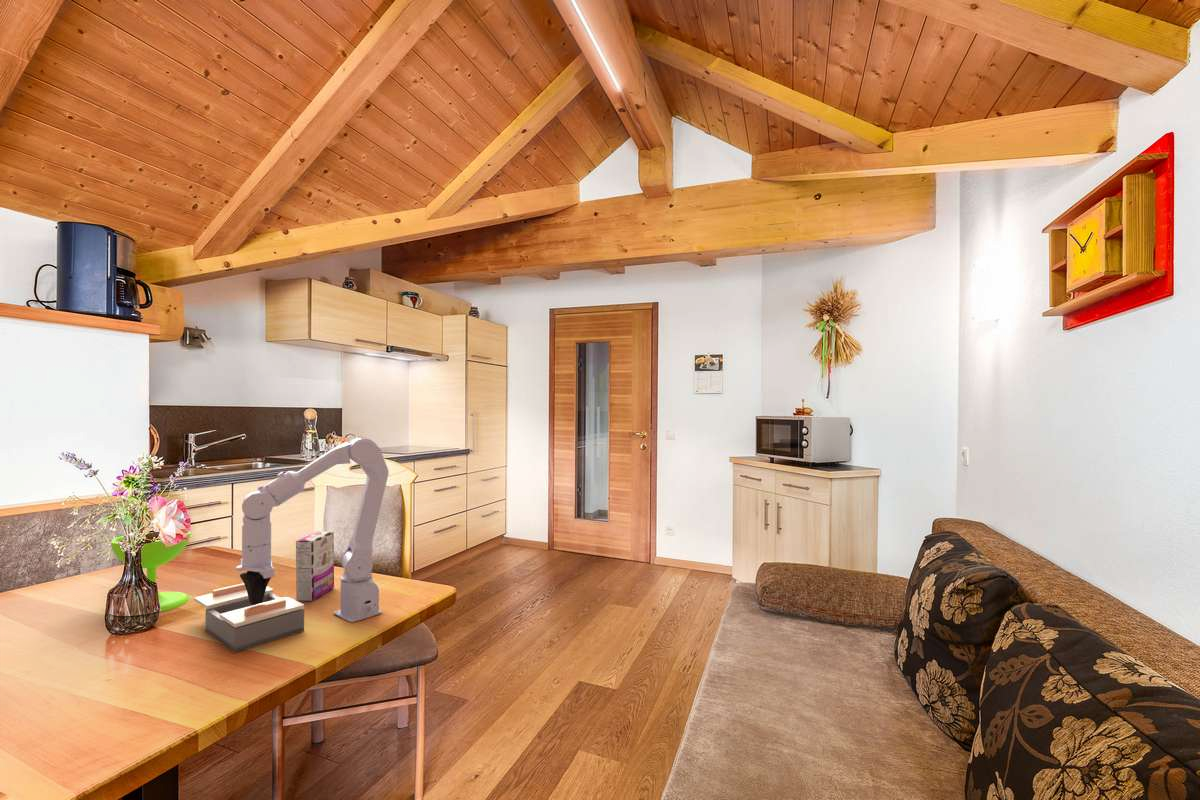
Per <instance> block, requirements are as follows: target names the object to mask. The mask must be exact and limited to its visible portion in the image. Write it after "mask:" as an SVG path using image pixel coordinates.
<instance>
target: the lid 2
mask: <svg viewBox="0 0 1200 800" xmlns="http://www.w3.org/2000/svg"><path fill="white" fill-rule="evenodd" d="M299 609H305V604H304V603H303V602H301V601H297V599H296V600H295V599H294V598H291V597H289V596H284V597H280V598H279V599H276V600H272V601H268V602H264V603H260V604H256V605H252V606H249V607H245V608H241V609H237V610H233V611H229V612H225V613H222V614H220V618H221V619H223V620H224V621H226V622H227V623H229V624H230V625H232V626H233V627H239V626H243V625H246V624H250V623H253V622H257V621H260V620H264V619H267V618H271V617H274V616H278V615H281V614H285V613H289V612H292V611H296V610H299Z"/></svg>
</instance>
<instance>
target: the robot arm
mask: <svg viewBox="0 0 1200 800" xmlns="http://www.w3.org/2000/svg"><path fill="white" fill-rule="evenodd" d="M351 460H352V461H353V462H355V463H356V464H357V465H359V466H360V468H361V469H362V471H363V472H364V474H365V475H366V480H365V484H364V487H363V491H362V497H361V500H360V503H359V504H360V505H359V508H358V511H357V516H356V520H355V524H354V527H353V532H352V537H351V538H350V540H349V542H348V545H347V548H346V549H345V551H344V552H343V553H342V555H341V558H340V566H341V567H342V569H343V570H344V571H343V573H342V575H341V576H340V602H339V603H340V604H339V605H340V609H338V610H334V611H333V612H332V613H333V614H334V615H335V616H337V617H340V618H341V619H343V620H345V621H347V622H350V623H355V622H358V621H361V620H364V619H367V618H371V617H373V616H376V615H380V614H383V610H381V609H380V604H379V603H380V599H379V598H380V588H379V586H378V585H377V584H376V583H375V582H374V580H373V572H372V571H373V569H374V568H373V567H374V563H373V560H372V554H373V540H374V535H375V531H376V527H377V523H378V518H379V515H380V511H381V506H382V504H383V503H382V502H383V499H384V494H385V490H386V486H387V482H388V477H389V468H388V466H387V462H386V460H385V458H384V456H383V451H382V449H381V448H380V447H379V446H378V445H377V444H376V442H374V441H373V440H372V439H369V438H366V437H362V436H355V437H353V438H351V439H350V440H349V441H348V442H347V441H346V442H343V443H341V444H339V445H338V446H337V445H336V446H335V447H334V448H331V449H330V450H329V451H327V452H326V453H324V454H322V455H321V456H320V457H318V458H317V459H315V460H314V461H312V462H310V463H309V464H308V465H306V466H304V467H303V468H301V469H300V470H298V471H293V470H288V471H286V472H285V473H284V472H283V471H281V472H279V473H278V474H277V477H276V478H275V479H273V480H272V481H270V482H268V483H266V484H265V485H261V484H260V485H259V486H258V487H257V490H256V491H252V492H249V493H248V494H247V495H246V496H245V497H244V499H243V501H242V503H241V510H242V513H243V517H242V527H241V558H240V559H239V565H237V566H235V571H238V572H240V571H244V572H242V573H240V574H239V578H240V579H241V580H242V583H244V584H245V587H246V590H247V594H248V598H249V601H250V604H252V605H255V604H259V603H262V602H263V598H264V595H265V591H266V587H268V584H269V582H270V580H271V578H273V577H275V568H274V567H273V560H272V522H271V512H272V511H273V508H274V507H279V506H280V505H282V504H284V503H286V502H287V501H288V500H291V498H293V497H294V496H296V495H298V494H300V493H301V492H303V491H304V489H305V485H306V483H307V482H309V481H310V480H312V479H314V478H316V477H318V476H319V475H321V474H323V473H324V472H326V471H328V470H329V469H331V468H333V467H334V466H336V465H345V464H346V465H348V464H351V463H352V462H351ZM245 571H246V572H245Z"/></svg>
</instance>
